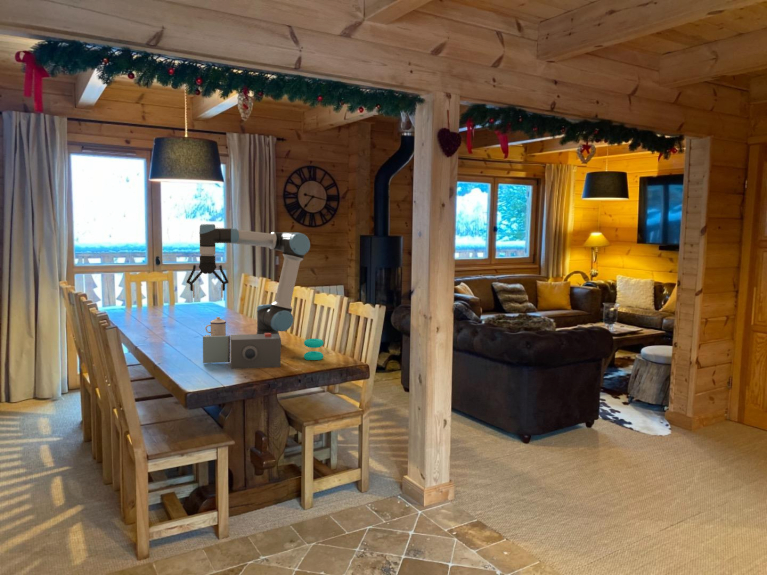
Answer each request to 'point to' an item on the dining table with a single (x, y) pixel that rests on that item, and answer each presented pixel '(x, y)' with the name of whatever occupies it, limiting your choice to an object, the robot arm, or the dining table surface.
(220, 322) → the teacup with lid
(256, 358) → the camera body
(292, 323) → the robot arm
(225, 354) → the side door
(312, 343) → the donuts
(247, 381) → the dining table surface
